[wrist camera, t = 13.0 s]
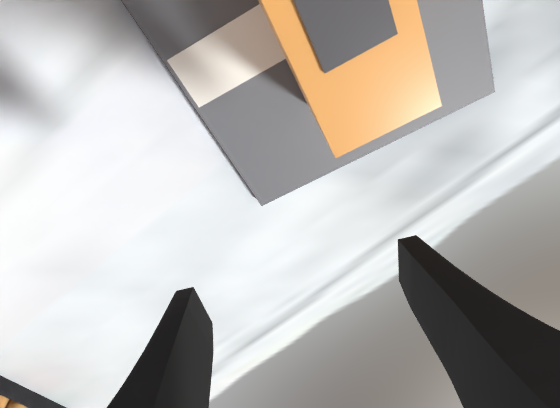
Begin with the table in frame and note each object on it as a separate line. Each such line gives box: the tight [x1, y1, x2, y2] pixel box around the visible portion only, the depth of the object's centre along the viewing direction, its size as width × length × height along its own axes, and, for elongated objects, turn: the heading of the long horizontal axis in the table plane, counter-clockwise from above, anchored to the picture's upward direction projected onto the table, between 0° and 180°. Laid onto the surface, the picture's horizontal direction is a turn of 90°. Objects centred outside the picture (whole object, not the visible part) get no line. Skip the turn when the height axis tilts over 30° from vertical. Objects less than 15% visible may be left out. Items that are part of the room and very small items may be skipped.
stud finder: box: [258, 0, 442, 158], centre depth 13 cm, size 4×8×6 cm, turn 27°
